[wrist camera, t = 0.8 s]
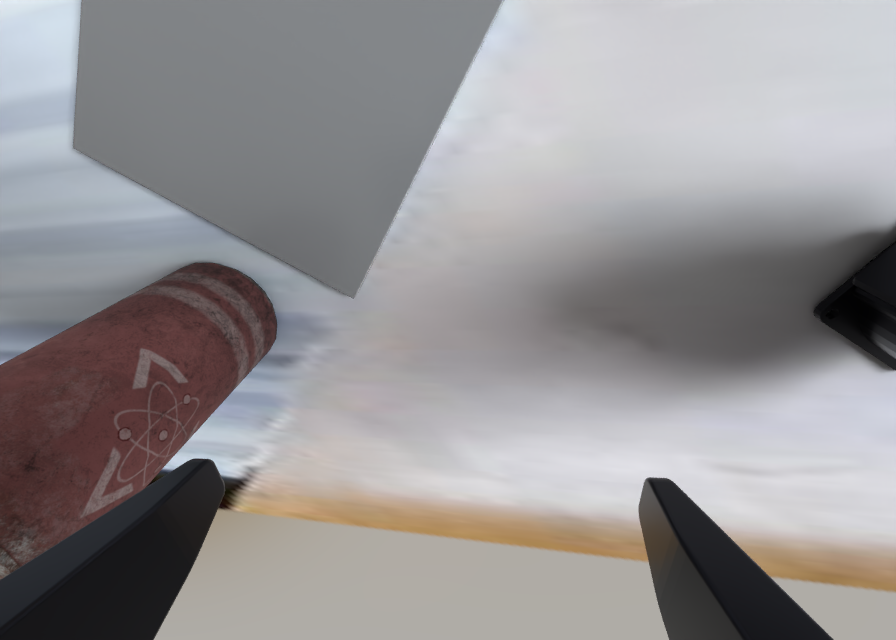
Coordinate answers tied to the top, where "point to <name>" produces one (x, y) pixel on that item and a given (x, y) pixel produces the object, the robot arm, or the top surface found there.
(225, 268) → the can
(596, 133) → the top surface
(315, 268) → the plate
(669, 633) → the robot arm
